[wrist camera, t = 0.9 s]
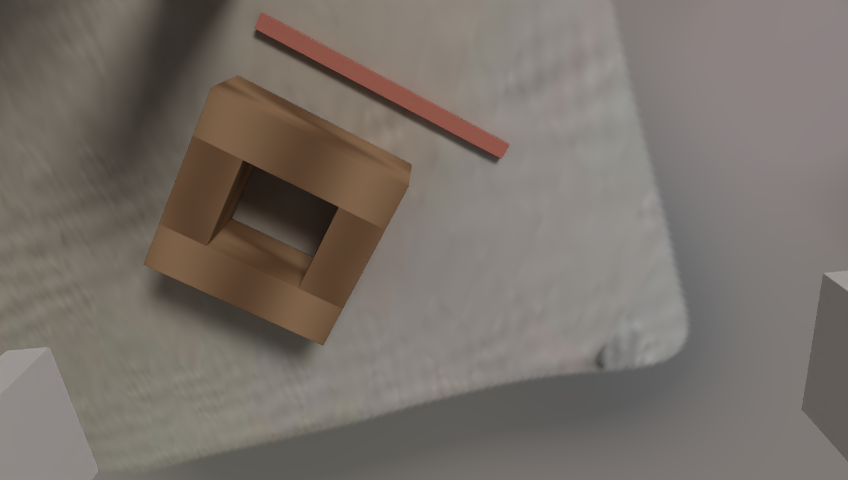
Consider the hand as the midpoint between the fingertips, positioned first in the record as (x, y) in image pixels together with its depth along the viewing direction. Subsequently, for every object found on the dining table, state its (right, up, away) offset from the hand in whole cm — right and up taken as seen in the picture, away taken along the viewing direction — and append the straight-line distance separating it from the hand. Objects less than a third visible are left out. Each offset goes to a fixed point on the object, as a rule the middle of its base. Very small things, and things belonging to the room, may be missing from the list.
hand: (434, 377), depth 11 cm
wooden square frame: (-8, +5, +23) cm, 25 cm away
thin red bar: (-2, +10, +21) cm, 23 cm away
